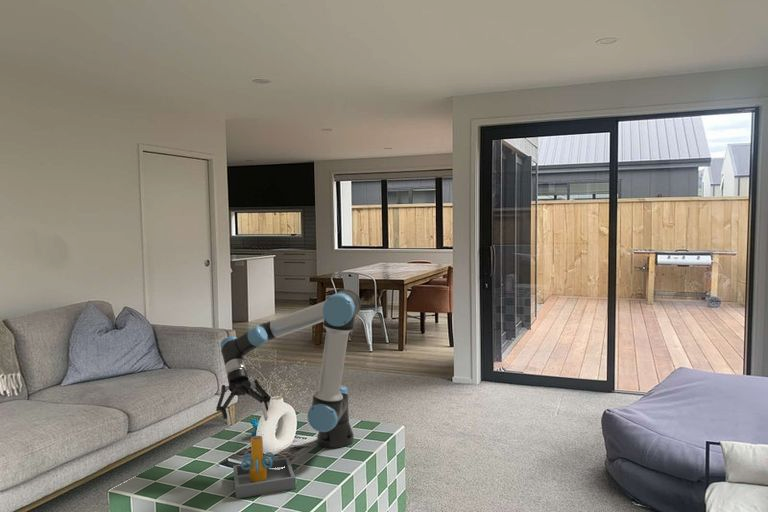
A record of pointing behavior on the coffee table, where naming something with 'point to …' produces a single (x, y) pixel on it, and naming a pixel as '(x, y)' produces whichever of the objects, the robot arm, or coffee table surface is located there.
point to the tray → (273, 483)
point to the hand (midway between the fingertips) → (248, 422)
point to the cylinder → (257, 460)
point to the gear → (254, 425)
